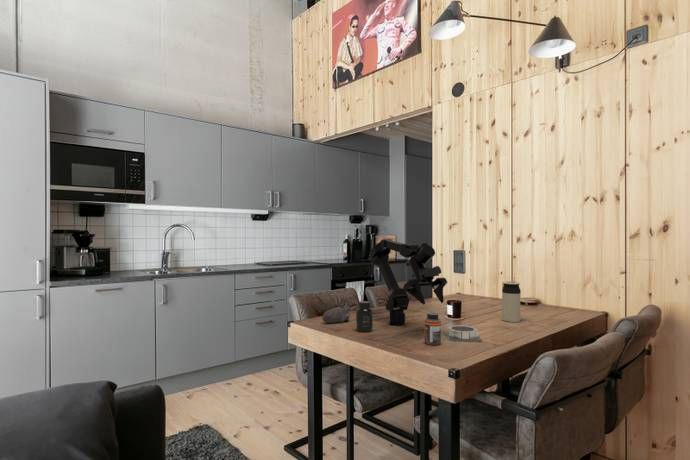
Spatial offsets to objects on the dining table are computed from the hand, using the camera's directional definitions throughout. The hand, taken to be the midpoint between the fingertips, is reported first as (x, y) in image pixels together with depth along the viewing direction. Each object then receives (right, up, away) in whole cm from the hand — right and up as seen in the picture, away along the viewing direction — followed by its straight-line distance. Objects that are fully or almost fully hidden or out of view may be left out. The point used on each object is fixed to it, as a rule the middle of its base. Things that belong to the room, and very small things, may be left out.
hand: (433, 303), depth 163 cm
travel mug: (+43, -14, +30) cm, 54 cm away
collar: (+11, -13, 0) cm, 18 cm away
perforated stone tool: (-39, -13, +25) cm, 48 cm away
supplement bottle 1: (-27, -13, +10) cm, 32 cm away
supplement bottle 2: (-2, -14, -9) cm, 17 cm away
